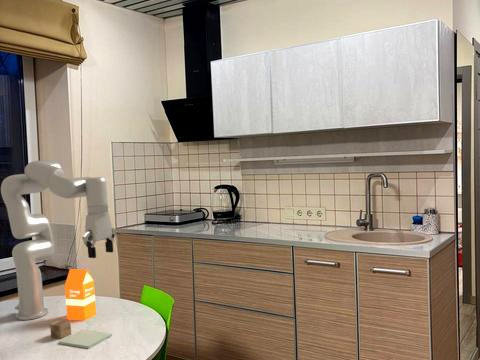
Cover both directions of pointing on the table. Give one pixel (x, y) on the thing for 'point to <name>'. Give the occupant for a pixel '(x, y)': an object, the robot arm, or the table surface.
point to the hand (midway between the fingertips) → (101, 254)
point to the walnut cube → (60, 329)
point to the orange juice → (80, 295)
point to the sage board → (85, 338)
